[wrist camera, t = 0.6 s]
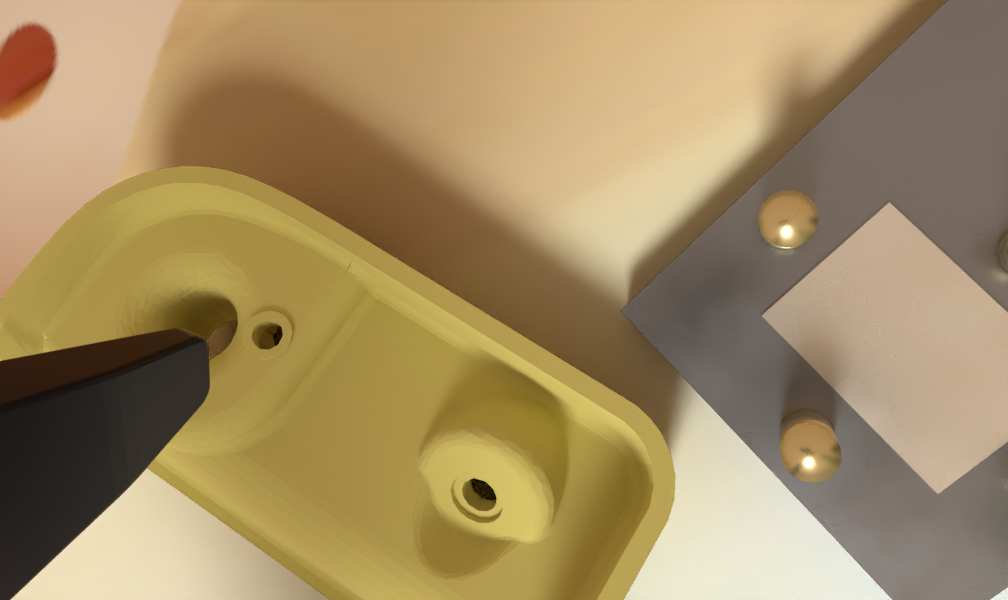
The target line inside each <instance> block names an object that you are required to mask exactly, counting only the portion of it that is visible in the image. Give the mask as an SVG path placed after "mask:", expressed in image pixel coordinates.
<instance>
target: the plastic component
mask: <svg viewBox="0 0 1008 600" xmlns="http://www.w3.org/2000/svg"><path fill="white" fill-rule="evenodd" d="M233 320H238V326H237V330H236V333H235V335H234V337H233V339H232V341H231V343H230V344H229V345H228V347H227V348H226V349H225V350H224V351H223V352H222V353H221V354H219V355H218V356H216V357H215V358H213V359H211V360H209V369H210V389H209V393H208V395H207V397H206V399H205V401H204V402H203V404H202V405H201V406H200V407H199V409H198V410H197V411H196V412H195V413H194V414H193V415H192V417H191V418H190V419H189V420H188V421H187V422H186V424H185V425H184V426H183V427H182V428H181V429H180V430H179V432H178V433H177V434H176V435H175V436H174V437H173V438H172V440H171V441H170V442H169V443H168V444H167V445H166V446H165V448H164V449H163V450H162V451H161V452H160V453H159V454H158V456H157V457H156V458H155V459H154V460H153V461H152V462H151V464H150V465H149V466H148V467H147V468H148V469H149V470H151V471H152V472H153V473H155V474H156V475H158V476H159V477H160V478H162V479H163V480H165V481H166V482H167V483H169V484H170V485H172V486H173V487H174V488H176V489H177V490H179V491H180V492H181V493H183V494H184V495H186V496H187V497H188V498H190V499H191V500H193V501H194V502H195V503H197V504H198V505H200V506H201V507H202V508H204V509H205V510H207V511H208V512H209V513H211V514H212V515H214V516H215V517H216V518H218V519H219V520H221V521H222V522H223V523H225V524H226V525H228V526H229V527H230V528H232V529H233V530H234V531H236V532H237V533H239V534H240V535H241V536H243V537H244V538H246V539H247V540H248V541H250V542H251V543H253V544H254V545H255V546H257V547H258V548H259V549H261V550H262V551H264V552H265V553H266V554H268V555H269V556H271V557H272V558H273V559H275V560H276V561H278V562H279V563H280V564H282V565H283V566H284V567H286V568H287V569H289V570H290V571H291V572H293V573H294V574H295V575H297V576H298V577H300V578H301V579H302V580H304V581H305V582H307V583H308V584H309V585H311V586H312V587H313V588H315V589H316V590H318V591H319V592H320V593H322V594H323V595H324V596H326V597H327V598H329V599H330V600H624V598H625V596H626V594H627V593H628V591H629V589H630V587H631V585H632V584H633V582H634V580H635V578H636V576H637V575H638V573H639V571H640V569H641V567H642V566H643V564H644V562H645V560H646V559H647V557H648V555H649V553H650V551H651V550H652V548H653V546H654V544H655V542H656V541H657V539H658V537H659V535H660V533H661V532H662V530H663V528H664V526H665V525H666V523H667V521H668V518H669V515H670V511H671V508H672V505H673V501H674V490H675V472H674V468H673V463H672V458H671V453H670V450H669V448H668V446H667V444H666V442H665V440H664V438H663V435H662V433H661V432H660V431H659V429H658V428H657V427H656V425H655V424H654V422H653V421H652V420H651V419H650V418H649V417H648V416H647V415H646V414H645V413H644V412H643V411H642V410H641V409H640V408H639V407H638V406H637V405H635V404H634V403H632V402H630V401H629V400H627V399H625V398H624V397H622V396H620V395H619V394H617V393H616V392H614V391H612V390H611V389H609V388H607V387H606V386H604V385H602V384H601V383H599V382H598V381H596V380H594V379H593V378H591V377H589V376H588V375H586V374H584V373H583V372H581V371H580V370H578V369H576V368H575V367H573V366H571V365H570V364H568V363H566V362H565V361H563V360H562V359H560V358H558V357H557V356H555V355H553V354H552V353H550V352H548V351H547V350H545V349H544V348H542V347H540V346H539V345H537V344H535V343H534V342H532V341H530V340H529V339H527V338H526V337H524V336H522V335H521V334H519V333H517V332H516V331H514V330H512V329H511V328H509V327H508V326H506V325H504V324H503V323H501V322H499V321H498V320H496V319H494V318H493V317H491V316H490V315H488V314H486V313H485V312H483V311H481V310H480V309H478V308H477V307H475V306H473V305H472V304H470V303H468V302H467V301H465V300H463V299H462V298H460V297H459V296H457V295H455V294H454V293H452V292H450V291H449V290H447V289H445V288H444V287H442V286H441V285H439V284H437V283H436V282H434V281H432V280H431V279H429V278H427V277H426V276H424V275H423V274H421V273H419V272H418V271H416V270H414V269H413V268H411V267H409V266H408V265H406V264H405V263H403V262H401V261H400V260H398V259H396V258H395V257H393V256H391V255H390V254H388V253H387V252H385V251H383V250H382V249H380V248H378V247H377V246H375V245H373V244H372V243H370V242H369V241H367V240H365V239H364V238H362V237H360V236H359V235H357V234H355V233H354V232H352V231H351V230H349V229H347V228H346V227H344V226H342V225H341V224H339V223H337V222H336V221H334V220H332V219H330V218H329V217H327V216H325V215H323V214H322V213H320V212H318V211H316V210H315V209H313V208H311V207H310V206H308V205H306V204H304V203H303V202H301V201H299V200H297V199H296V198H294V197H292V196H290V195H288V194H286V193H284V192H282V191H280V190H278V189H276V188H274V187H272V186H269V185H267V184H265V183H262V182H260V181H257V180H255V179H253V178H250V177H248V176H245V175H242V174H238V173H235V172H231V171H228V170H224V169H218V168H211V167H204V166H179V167H171V168H163V169H158V170H155V171H151V172H147V173H143V174H140V175H137V176H135V177H132V178H130V179H127V180H124V181H122V182H120V183H118V184H116V185H114V186H112V187H110V188H109V189H107V190H105V191H103V192H102V193H101V194H99V195H98V196H96V197H95V198H93V199H92V200H91V201H89V202H88V203H86V204H85V205H84V206H83V207H82V208H81V209H80V210H79V211H77V212H76V213H75V214H74V215H73V216H72V217H71V218H70V219H68V220H67V221H66V222H65V223H64V225H63V226H62V227H61V228H60V229H59V230H58V231H57V232H56V233H55V234H54V236H53V237H52V238H51V239H50V240H49V241H48V242H47V244H46V245H45V246H44V247H43V248H42V249H41V251H40V252H39V253H38V254H37V255H36V257H35V258H34V259H33V260H32V262H31V263H30V264H29V265H28V266H27V268H26V269H25V270H24V271H23V272H22V273H21V275H20V276H19V277H18V278H17V279H16V281H15V282H14V283H13V284H12V285H11V287H10V288H9V289H8V290H7V292H5V294H4V295H3V296H2V297H1V298H0V361H2V360H7V359H13V358H18V357H23V356H28V355H34V354H39V353H44V352H50V351H55V350H60V349H65V348H71V347H76V346H81V345H87V344H92V343H97V342H102V341H108V340H113V339H118V338H124V337H129V336H134V335H139V334H145V333H150V332H155V331H161V330H166V329H171V328H183V329H186V330H188V331H190V332H193V333H195V334H197V335H200V336H202V337H203V338H204V339H206V340H207V339H208V338H209V336H210V335H211V334H212V332H213V331H214V330H215V329H216V328H218V327H219V326H221V325H223V324H225V323H226V322H228V321H233ZM276 326H279V327H282V333H283V336H282V338H281V340H280V342H279V344H278V345H277V346H275V345H274V339H273V335H274V333H275V332H276V331H277V327H276ZM473 478H475V479H478V480H482V481H485V482H486V483H487V484H488V485H489V486H490V487H492V488H493V490H494V492H495V495H496V500H492V501H489V500H487V499H484V498H481V497H480V496H479V495H478V494H477V493H476V492H475V491H474V490H473V488H472V485H471V482H470V480H471V479H473Z"/></svg>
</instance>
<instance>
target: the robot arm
mask: <svg viewBox="0 0 1008 600" xmlns="http://www.w3.org/2000/svg"><path fill="white" fill-rule="evenodd" d="M209 389H210V369H209V346H208V343H207V341H206V339H204V338H203V337H202V336H200V335H197V334H195V333H193V332H190V331H188V330H186V329H183V328H171V329H166V330H161V331H155V332H150V333H145V334H139V335H134V336H129V337H124V338H118V339H113V340H108V341H102V342H97V343H92V344H87V345H81V346H76V347H71V348H65V349H60V350H55V351H50V352H44V353H39V354H34V355H28V356H23V357H18V358H13V359H7V360H2V361H0V600H11V599H12V598H13V597H14V596H15V595H16V594H17V593H18V592H19V591H20V590H21V589H22V588H23V587H24V586H25V585H27V584H28V583H29V582H30V581H31V580H32V579H33V578H34V577H35V576H36V575H37V574H38V573H39V572H40V571H41V570H42V569H43V568H45V567H46V566H47V565H48V564H49V563H50V562H51V561H52V560H53V559H54V558H55V557H56V556H57V555H58V554H59V553H60V552H62V551H63V550H64V549H65V548H66V547H67V546H68V545H69V544H70V543H71V542H72V541H73V540H74V539H75V538H76V537H77V536H79V535H80V534H81V533H82V532H83V531H84V530H85V529H86V528H87V527H88V526H89V525H90V524H91V523H92V522H93V521H94V520H95V519H97V518H98V517H99V516H100V515H101V514H102V513H103V512H104V511H105V510H106V509H107V508H108V507H109V506H110V505H111V504H112V503H114V502H115V501H116V500H117V499H118V498H119V497H120V496H121V495H122V494H123V493H124V492H125V491H126V490H127V489H128V488H129V487H130V486H131V485H132V484H133V482H134V481H135V480H136V479H137V478H138V477H139V476H140V475H141V474H142V473H143V472H144V470H145V469H146V468H147V467H148V466H149V465H150V464H151V462H152V461H153V460H154V459H155V458H156V457H157V456H158V454H159V453H160V452H161V451H162V450H163V449H164V448H165V446H166V445H167V444H168V443H169V442H170V441H171V440H172V438H173V437H174V436H175V435H176V434H177V433H178V432H179V430H180V429H181V428H182V427H183V426H184V425H185V424H186V422H187V421H188V420H189V419H190V418H191V417H192V415H193V414H194V413H195V412H196V411H197V410H198V409H199V407H200V406H201V405H202V404H203V402H204V401H205V399H206V397H207V395H208V393H209Z"/></svg>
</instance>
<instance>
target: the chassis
mask: <svg viewBox="0 0 1008 600" xmlns="http://www.w3.org/2000/svg"><path fill="white" fill-rule="evenodd" d="M621 312H622V313H623V314H624V315H625V316H626V317H627V318H628V319H629V320H630V321H631V322H632V324H633V325H634V326H635V327H636V328H637V329H638V330H639V331H640V332H641V333H642V334H643V335H644V336H645V337H646V338H647V339H648V341H649V342H650V343H651V344H652V345H653V346H654V347H655V348H656V349H657V350H658V351H659V352H660V353H661V354H662V355H663V356H664V358H665V359H666V360H667V361H668V362H669V363H670V364H671V365H672V366H673V367H674V368H675V369H676V370H677V371H678V372H679V373H680V375H681V376H682V377H683V378H684V379H685V380H686V381H687V382H688V383H689V384H690V385H691V386H692V387H693V388H694V389H695V390H696V392H697V393H698V394H699V395H700V396H701V397H702V398H703V399H704V400H705V401H706V402H707V403H708V404H709V405H710V406H711V407H712V409H713V410H714V411H715V412H716V413H717V414H718V415H719V416H720V417H721V418H722V419H723V420H724V421H725V422H726V423H727V424H728V426H729V427H730V428H731V429H732V430H733V431H734V432H735V433H736V434H737V435H738V436H739V437H740V438H741V439H742V440H743V441H744V442H745V444H746V445H747V446H748V447H749V448H750V449H751V450H752V451H753V452H754V453H755V454H756V455H757V456H758V457H759V458H760V459H761V461H762V462H763V463H764V464H765V465H766V466H767V467H768V468H769V469H770V470H771V471H772V472H773V473H774V474H775V475H776V476H777V478H778V479H779V480H780V481H781V482H782V483H783V484H784V485H785V486H786V487H787V488H788V489H789V490H790V491H791V492H792V493H793V495H794V496H795V497H796V498H797V499H798V500H799V501H800V502H801V503H802V504H803V505H804V506H805V507H806V508H807V509H808V510H809V512H810V513H811V514H812V515H813V516H814V517H815V518H816V519H817V520H818V521H819V522H820V523H821V524H822V525H823V526H824V527H825V529H826V530H827V531H828V532H829V533H830V534H831V535H832V536H833V537H834V538H835V539H836V540H837V541H838V542H839V543H840V544H841V545H842V547H843V548H844V549H845V550H846V551H847V552H848V553H849V554H850V555H851V556H852V557H853V558H854V559H855V560H856V561H857V562H858V564H859V565H860V566H861V567H862V568H863V569H864V570H865V571H866V572H867V573H868V574H869V575H870V576H871V577H872V578H873V579H874V581H875V582H876V583H877V584H878V585H879V586H880V587H881V588H882V589H883V590H884V591H885V592H886V593H887V594H888V595H889V596H890V598H891V599H892V600H990V599H991V598H993V597H994V596H996V595H997V594H998V593H1000V592H1001V591H1003V590H1004V589H1006V588H1007V587H1008V0H948V1H947V2H946V3H945V4H944V5H942V6H941V7H940V8H939V9H938V10H937V11H936V12H935V13H934V14H933V15H932V16H931V17H930V18H929V19H928V20H927V21H926V22H925V23H923V24H922V25H921V26H920V27H919V28H918V29H917V30H916V31H915V32H914V33H913V34H912V35H911V36H910V37H909V38H908V39H907V40H906V41H904V42H903V43H902V44H901V45H900V46H899V47H898V48H897V49H896V50H895V51H894V52H893V53H892V54H891V55H890V56H889V57H888V58H887V59H886V60H884V61H883V62H882V63H881V64H880V65H879V66H878V67H877V68H876V69H875V70H874V71H873V72H872V73H871V74H870V75H869V76H868V77H867V78H865V79H864V80H863V81H862V82H861V83H860V84H859V85H858V86H857V87H856V88H855V89H854V90H853V91H852V92H851V93H850V94H849V95H848V96H846V97H845V98H844V99H843V100H842V101H841V102H840V103H839V104H838V105H837V106H836V107H835V108H834V109H833V110H832V111H831V112H830V113H829V114H827V115H826V116H825V117H824V118H823V119H822V120H821V121H820V122H819V123H818V124H817V125H816V126H815V127H814V128H813V129H812V130H811V131H810V132H809V133H807V134H806V135H805V136H804V137H803V138H802V139H801V140H800V141H799V142H798V143H797V144H796V145H795V146H794V147H793V148H792V149H791V150H790V151H788V152H787V153H786V154H785V155H784V156H783V157H782V158H781V159H780V160H779V161H778V162H777V163H776V164H775V165H774V166H773V167H772V168H771V169H769V170H768V171H767V172H766V173H765V174H764V175H763V176H762V177H761V178H760V179H759V180H758V181H757V182H756V183H755V184H754V185H753V186H752V187H750V188H749V189H748V190H747V191H746V192H745V193H744V194H743V195H742V196H741V197H740V198H739V199H738V200H737V201H736V202H735V203H734V204H733V205H731V206H730V207H729V208H728V209H727V210H726V211H725V212H724V213H723V214H722V215H721V216H720V217H719V218H718V219H717V220H716V221H715V222H714V223H713V224H711V225H710V226H709V227H708V228H707V229H706V230H705V231H704V232H703V233H702V234H701V235H700V236H699V237H698V238H697V239H696V240H695V241H694V242H692V243H691V244H690V245H689V246H688V247H687V248H686V249H685V250H684V251H683V252H682V253H681V254H680V255H679V256H678V257H677V258H676V259H675V260H673V261H672V262H671V263H670V264H669V265H668V266H667V267H666V268H665V269H664V270H663V271H662V272H661V273H660V274H659V275H658V276H657V277H656V278H654V279H653V280H652V281H651V282H650V283H649V284H648V285H647V286H646V287H645V288H644V289H643V290H642V291H641V292H640V293H639V294H638V295H637V296H635V297H634V298H633V299H632V300H631V301H630V302H629V303H628V304H627V305H626V306H625V307H624V308H623V309H622V310H621Z"/></svg>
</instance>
